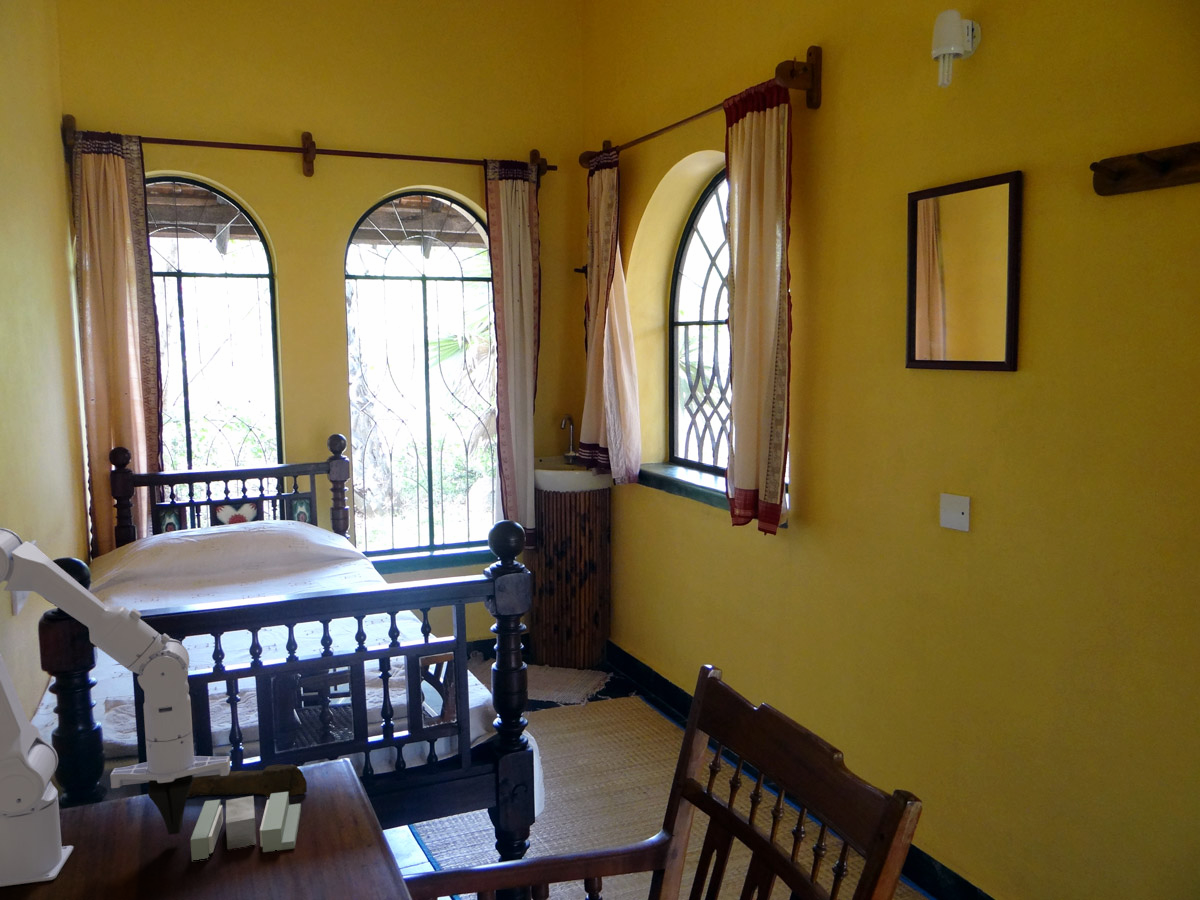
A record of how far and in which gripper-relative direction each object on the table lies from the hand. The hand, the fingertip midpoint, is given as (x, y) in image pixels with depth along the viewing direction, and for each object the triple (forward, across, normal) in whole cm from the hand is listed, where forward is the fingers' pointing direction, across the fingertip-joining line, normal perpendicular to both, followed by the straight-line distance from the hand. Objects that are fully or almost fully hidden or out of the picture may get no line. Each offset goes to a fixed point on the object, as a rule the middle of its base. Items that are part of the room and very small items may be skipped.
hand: (175, 830), depth 127 cm
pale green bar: (+2, +13, 0) cm, 13 cm away
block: (+2, +8, 0) cm, 9 cm away
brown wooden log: (+2, +7, +14) cm, 16 cm away
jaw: (+2, +4, 0) cm, 4 cm away
